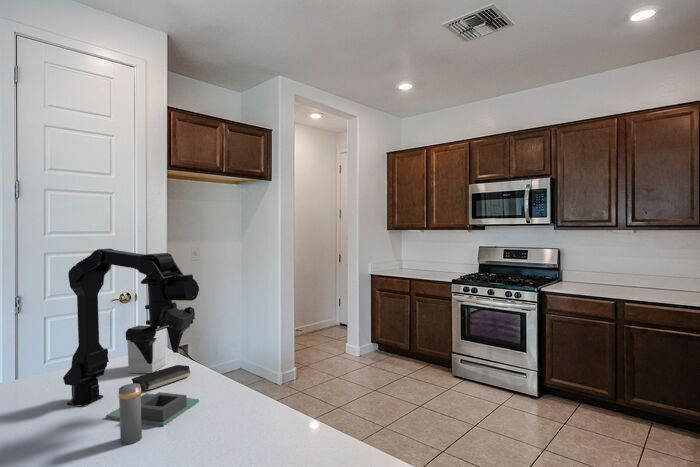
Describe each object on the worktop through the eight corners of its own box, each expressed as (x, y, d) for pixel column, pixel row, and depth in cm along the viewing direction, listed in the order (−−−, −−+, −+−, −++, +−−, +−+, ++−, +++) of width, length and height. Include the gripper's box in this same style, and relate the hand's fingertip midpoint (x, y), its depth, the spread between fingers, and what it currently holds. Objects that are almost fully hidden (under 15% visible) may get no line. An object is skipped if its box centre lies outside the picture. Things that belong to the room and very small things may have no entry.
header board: (106, 418, 104) (105, 404, 104) (146, 395, 117) (146, 383, 117) (163, 426, 99) (163, 411, 99) (198, 402, 112) (198, 388, 112)
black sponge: (143, 394, 119) (143, 382, 119) (130, 388, 124) (130, 376, 124) (193, 377, 132) (192, 366, 132) (179, 372, 137) (179, 361, 137)
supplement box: (167, 364, 144) (165, 323, 144) (152, 373, 135) (151, 330, 135) (143, 364, 145) (142, 323, 145) (127, 373, 136) (126, 330, 136)
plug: (115, 443, 91) (113, 390, 91) (131, 433, 96) (129, 382, 96) (131, 446, 90) (129, 392, 90) (146, 435, 95) (145, 384, 94)
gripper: (159, 307, 95) (162, 372, 95) (207, 294, 113) (210, 348, 113) (122, 307, 98) (125, 369, 98) (175, 294, 116) (177, 346, 116)
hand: (163, 357), depth 106 cm, fingers open, 9 cm apart
